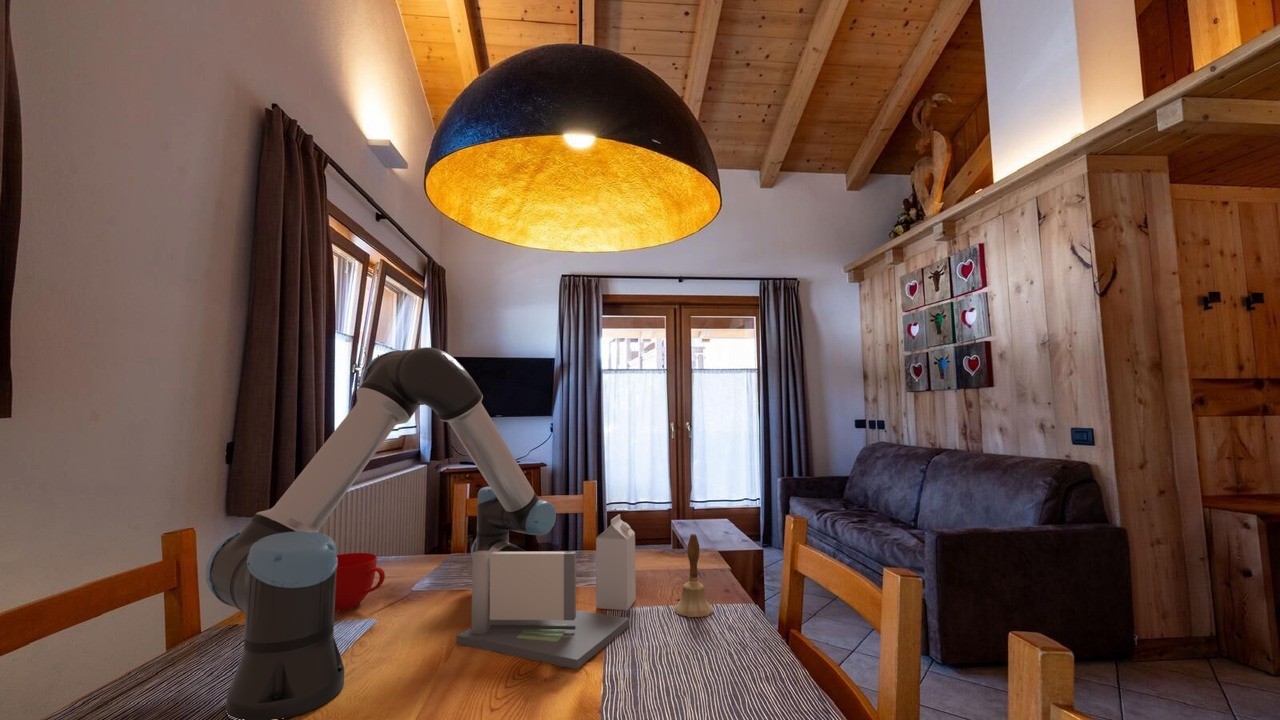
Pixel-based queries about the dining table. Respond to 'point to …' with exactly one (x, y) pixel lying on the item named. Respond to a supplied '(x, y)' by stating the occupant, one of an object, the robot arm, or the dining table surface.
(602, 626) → the grey flat slab
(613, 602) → the milk carton
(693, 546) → the hand bell
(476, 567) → the hinged door panel
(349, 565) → the ceramic cup
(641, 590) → the dining table surface
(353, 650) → the dining table surface
